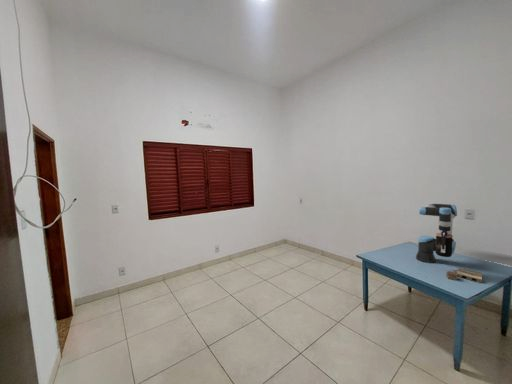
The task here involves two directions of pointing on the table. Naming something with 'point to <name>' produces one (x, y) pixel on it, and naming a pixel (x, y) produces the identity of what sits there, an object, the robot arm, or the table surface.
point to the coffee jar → (447, 248)
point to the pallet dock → (469, 274)
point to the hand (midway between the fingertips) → (443, 250)
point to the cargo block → (451, 275)
